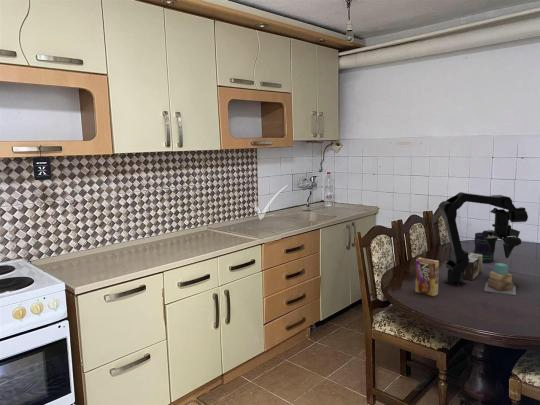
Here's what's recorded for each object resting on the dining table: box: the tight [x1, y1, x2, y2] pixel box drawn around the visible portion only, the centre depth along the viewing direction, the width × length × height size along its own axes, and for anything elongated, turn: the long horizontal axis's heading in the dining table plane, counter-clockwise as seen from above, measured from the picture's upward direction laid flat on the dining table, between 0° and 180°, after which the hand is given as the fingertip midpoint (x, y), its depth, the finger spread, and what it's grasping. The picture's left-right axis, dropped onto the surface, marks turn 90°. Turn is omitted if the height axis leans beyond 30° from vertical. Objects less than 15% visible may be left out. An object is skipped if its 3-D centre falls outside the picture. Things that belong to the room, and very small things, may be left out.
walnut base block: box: [487, 278, 514, 291], centre depth 183 cm, size 7×7×4 cm
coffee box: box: [462, 252, 483, 281], centre depth 203 cm, size 9×6×16 cm
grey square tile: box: [483, 281, 517, 296], centre depth 184 cm, size 12×12×1 cm
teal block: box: [493, 262, 509, 275], centre depth 182 cm, size 4×4×4 cm
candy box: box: [414, 257, 440, 297], centre depth 181 cm, size 9×4×15 cm, turn 45°
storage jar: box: [473, 232, 495, 264], centre depth 225 cm, size 10×10×15 cm
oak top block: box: [489, 270, 513, 283], centre depth 183 cm, size 6×6×4 cm
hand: (499, 255), depth 191 cm, fingers open, 9 cm apart
